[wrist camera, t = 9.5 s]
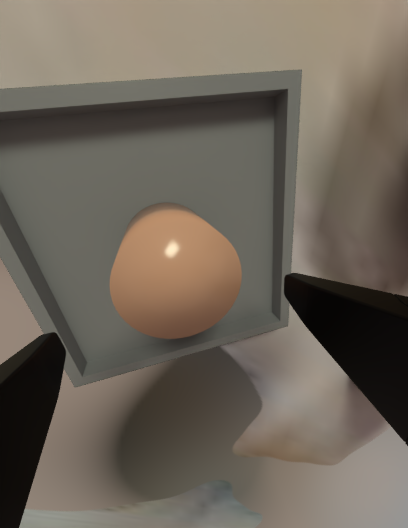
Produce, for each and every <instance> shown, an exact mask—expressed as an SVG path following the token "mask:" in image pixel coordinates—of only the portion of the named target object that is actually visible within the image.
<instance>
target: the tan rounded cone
mask: <svg viewBox="0 0 408 528" xmlns="http://www.w3.org/2000/svg"><path fill="white" fill-rule="evenodd" d="M241 280H242V270H241V264H240V260H239V257H238V255H237V252H236V250H235V249H234V247H233V246H232V244H231V243H230V242H229V241H228V240H227V238H225V237H224V236H223V235H222V234H221V233H220V232H218V231H217V230H216V229H215V228H213V227H212V226H211V225H210V224H209V223H207V222H206V221H205V220H204V219H202V218H201V217H200V216H199V215H197V214H196V213H195V212H194V211H192V210H191V209H189V208H187V207H185V206H183V205H180V204H177V203H169V202H164V203H157V204H153V205H150V206H148V207H146V208H144V209H142V210H141V211H140V212H138V213H137V214H136V215H135V216H134V217H133V218H132V220H131V221H130V222H129V224H128V226H127V228H126V231H125V233H124V236H123V239H122V242H121V245H120V247H119V250H118V253H117V256H116V259H115V262H114V264H113V267H112V270H111V275H110V294H111V298H112V302H113V304H114V306H115V308H116V310H117V312H118V313H119V315H120V316H121V317H122V318H123V320H124V321H125V322H126V323H128V324H129V325H130V326H131V327H133V328H134V329H136V330H137V331H139V332H141V333H144V334H146V335H149V336H152V337H157V338H164V339H177V338H184V337H189V336H192V335H195V334H198V333H200V332H203V331H205V330H207V329H208V328H210V327H212V326H213V325H214V324H216V323H217V322H218V321H220V320H221V319H222V318H223V317H224V316H225V315H226V314H227V313H228V311H229V310H230V309H231V307H232V306H233V304H234V302H235V300H236V298H237V296H238V293H239V290H240V287H241Z"/></svg>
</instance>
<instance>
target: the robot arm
mask: <svg viewBox="0 0 408 528" xmlns="http://www.w3.org/2000/svg"><path fill="white" fill-rule="evenodd" d="M284 295H285V297H286V299H287V300H288V302H289V303H290V305H291V306H292V307H293V309H294V310H295V312H296V313H297V315H298V316H299V318H300V319H301V320H302V322H303V323H304V324H305V326H306V327H307V328H308V329H309V331H310V332H311V333H312V334H313V335H314V336H315V338H316V339H317V340H318V341H319V342H320V344H321V345H322V346H323V347H324V348H325V349H326V351H327V352H328V353H329V354H330V355H331V356H332V358H333V359H334V360H335V361H336V362H337V363H338V365H339V366H340V367H341V368H342V369H343V370H344V372H345V373H346V374H347V375H348V376H349V377H350V379H351V380H352V381H353V382H354V383H355V385H356V386H357V387H358V388H359V389H360V390H361V392H362V393H363V394H364V395H365V396H366V397H367V399H368V400H369V401H370V402H371V403H372V404H373V406H374V407H375V408H376V409H377V410H378V411H379V413H380V414H381V415H382V416H383V417H384V418H385V420H386V421H387V422H388V423H389V424H390V425H391V427H392V428H393V429H394V430H395V431H396V433H397V434H398V435H399V436H400V437H401V438H402V439H403V441H405V442H406V444H407V446H408V297H406V296H401V295H397V294H394V295H393V294H392V293H387V292H382V291H378V290H373V289H368V288H364V287H359V286H354V285H350V284H345V283H340V282H336V281H331V280H326V279H322V278H317V277H312V276H308V275H303V274H298V273H291V274H287V275H286V276H285V277H284ZM65 358H66V349H65V347H64V345H63V343H62V341H61V340H60V338H59V336H58V334H57V333H55V332H51V333H47V334H43V335H41V336H39V337H38V338H36V339H35V340H34V341H32V342H31V343H30V344H28V345H27V346H25V347H24V348H23V349H21V350H20V351H19V352H17V353H16V354H15V355H13V356H12V357H10V358H9V359H8V360H6V361H5V362H4V363H2V364H1V365H0V528H19V526H20V523H21V519H22V516H23V513H24V509H25V506H26V502H27V499H28V496H29V492H30V489H31V486H32V483H33V479H34V476H35V473H36V469H37V466H38V463H39V460H40V456H41V453H42V449H43V446H44V443H45V440H46V436H47V433H48V429H49V426H50V423H51V420H52V416H53V413H54V410H55V406H56V403H57V399H58V395H59V390H60V385H61V380H62V374H63V369H64V364H65Z"/></svg>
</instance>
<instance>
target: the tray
mask: <svg viewBox="0 0 408 528" xmlns="http://www.w3.org/2000/svg"><path fill="white" fill-rule="evenodd" d="M301 78H302V70H286V71H271V72H255V73H240V74H224V75H209V76H193V77H178V78H162V79H146V80H131V81H115V82H100V83H84V84H69V85H53V86H38V87H22V88H7V89H0V258H1V260H2V261H3V263H4V265H5V267H6V268H7V270H8V272H9V274H10V275H11V277H12V279H13V280H14V282H15V284H16V286H17V287H18V289H19V291H20V293H21V294H22V296H23V298H24V300H25V301H26V303H27V305H28V307H29V308H30V310H31V312H32V314H33V315H34V317H35V319H36V320H37V322H38V324H39V326H40V328H41V329H42V331H43V333H44V334H47V333H51V332H55V333H57V334H58V336H59V338H60V340H61V341H62V343H63V345H64V347H65V349H66V358H65V364H64V369H65V371H66V373H67V375H68V376H69V378H70V380H71V382H72V383H73V385H74V387H78V386H82V385H86V384H88V383H93V382H96V381H100V380H103V379H106V378H110V377H113V376H116V375H120V374H123V373H127V372H130V371H134V370H137V369H141V368H144V367H148V366H151V365H155V364H158V363H162V362H165V361H169V360H172V359H176V358H179V357H182V356H186V355H189V354H193V353H196V352H200V351H203V350H207V349H210V348H213V347H217V346H221V345H224V344H228V343H231V342H234V341H238V340H241V339H245V338H248V337H252V336H255V335H259V334H262V333H266V332H269V331H273V330H276V329H279V328H283V327H286V326H288V318H289V302H288V300H287V299H286V297H285V295H284V277H285V276H286V275H287V274H291V263H292V244H293V226H294V207H295V189H296V170H297V152H298V133H299V115H300V96H301ZM164 202H169V203H177V204H180V205H183V206H185V207H187V208H189V209H191V210H192V211H194V212H195V213H196V214H197V215H199V216H200V217H201V218H202V219H204V220H205V221H206V222H207V223H209V224H210V225H211V226H212V227H213V228H215V229H216V230H217V231H218V232H220V233H221V234H222V235H223V236H224V237H225V238H227V240H228V241H229V242H230V243H231V244H232V246H233V247H234V249H235V250H236V252H237V255H238V257H239V260H240V264H241V270H242V280H241V287H240V290H239V293H238V296H237V298H236V300H235V302H234V304H233V306H232V307H231V309H230V310H229V311H228V313H227V314H226V315H225V316H224V317H223V318H222V319H221V320H220V321H218V322H217V323H216V324H214V325H213V326H212V327H210V328H208V329H207V330H205V331H203V332H200V333H198V334H195V335H192V336H189V337H184V338H177V339H164V338H157V337H152V336H149V335H146V334H144V333H141V332H139V331H137V330H136V329H134V328H133V327H131V326H130V325H129V324H128V323H126V322H125V321H124V320H123V318H122V317H121V316H120V315H119V313H118V312H117V310H116V308H115V306H114V304H113V302H112V298H111V294H110V275H111V270H112V267H113V264H114V262H115V259H116V256H117V253H118V250H119V247H120V245H121V242H122V239H123V236H124V233H125V231H126V228H127V226H128V224H129V222H130V221H131V220H132V218H133V217H134V216H135V215H136V214H137V213H138V212H140V211H141V210H142V209H144V208H146V207H148V206H150V205H153V204H157V203H164Z"/></svg>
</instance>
